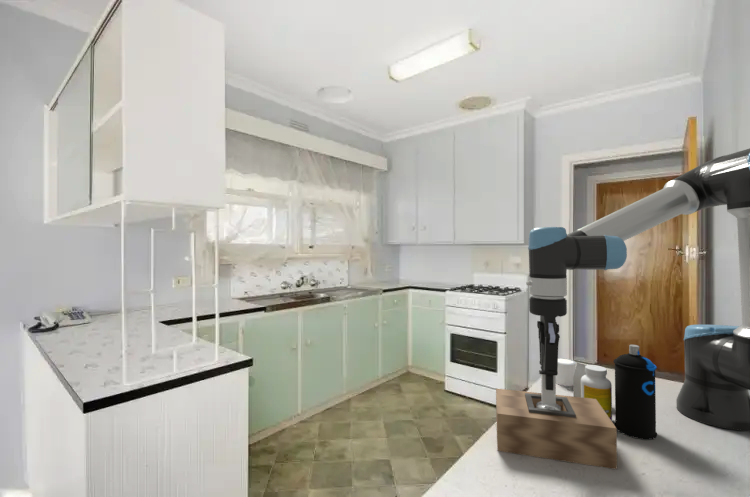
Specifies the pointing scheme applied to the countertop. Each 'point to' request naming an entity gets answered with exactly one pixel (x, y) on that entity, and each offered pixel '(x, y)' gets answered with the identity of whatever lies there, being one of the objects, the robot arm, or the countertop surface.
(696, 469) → the countertop surface
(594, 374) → the supplement bottle
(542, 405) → the peg
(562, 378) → the white cup
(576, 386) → the grey boxy piece
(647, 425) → the aerosol can
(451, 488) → the countertop surface
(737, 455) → the countertop surface
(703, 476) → the countertop surface
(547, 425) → the socket block
